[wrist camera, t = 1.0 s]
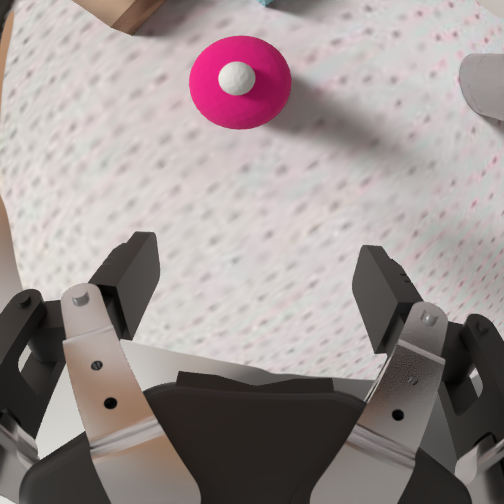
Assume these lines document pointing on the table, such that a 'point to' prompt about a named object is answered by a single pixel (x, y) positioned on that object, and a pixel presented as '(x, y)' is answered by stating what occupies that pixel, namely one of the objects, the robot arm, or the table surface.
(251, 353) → the table surface
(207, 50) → the pepper mill
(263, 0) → the teal cube
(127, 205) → the table surface
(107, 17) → the walnut box
